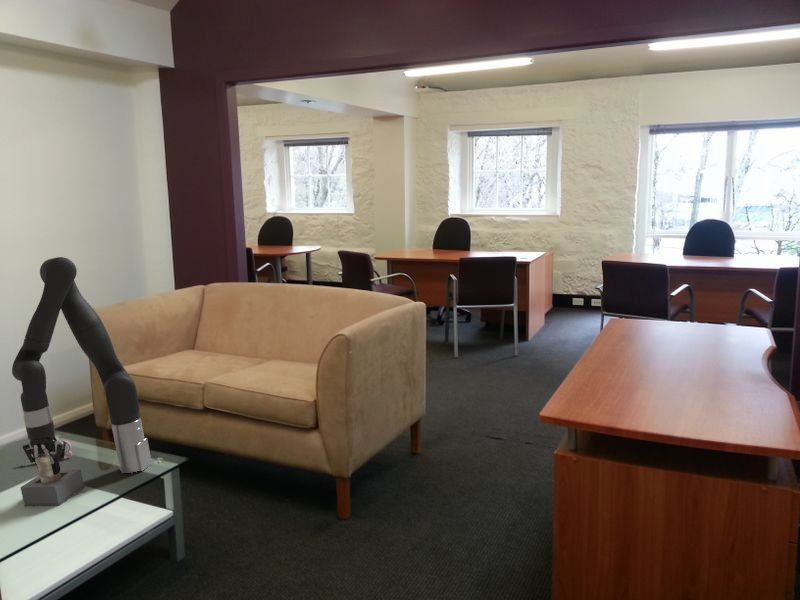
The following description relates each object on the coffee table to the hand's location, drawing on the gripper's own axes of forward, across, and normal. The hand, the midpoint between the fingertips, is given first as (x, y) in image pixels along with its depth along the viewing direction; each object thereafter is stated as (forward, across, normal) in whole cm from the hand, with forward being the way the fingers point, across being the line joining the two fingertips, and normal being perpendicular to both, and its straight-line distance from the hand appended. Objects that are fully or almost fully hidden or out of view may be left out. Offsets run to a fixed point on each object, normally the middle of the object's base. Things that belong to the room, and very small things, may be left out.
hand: (50, 473), depth 200 cm
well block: (+8, 0, 0) cm, 8 cm away
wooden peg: (+6, 0, 0) cm, 6 cm away
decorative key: (+8, +25, -27) cm, 37 cm away
